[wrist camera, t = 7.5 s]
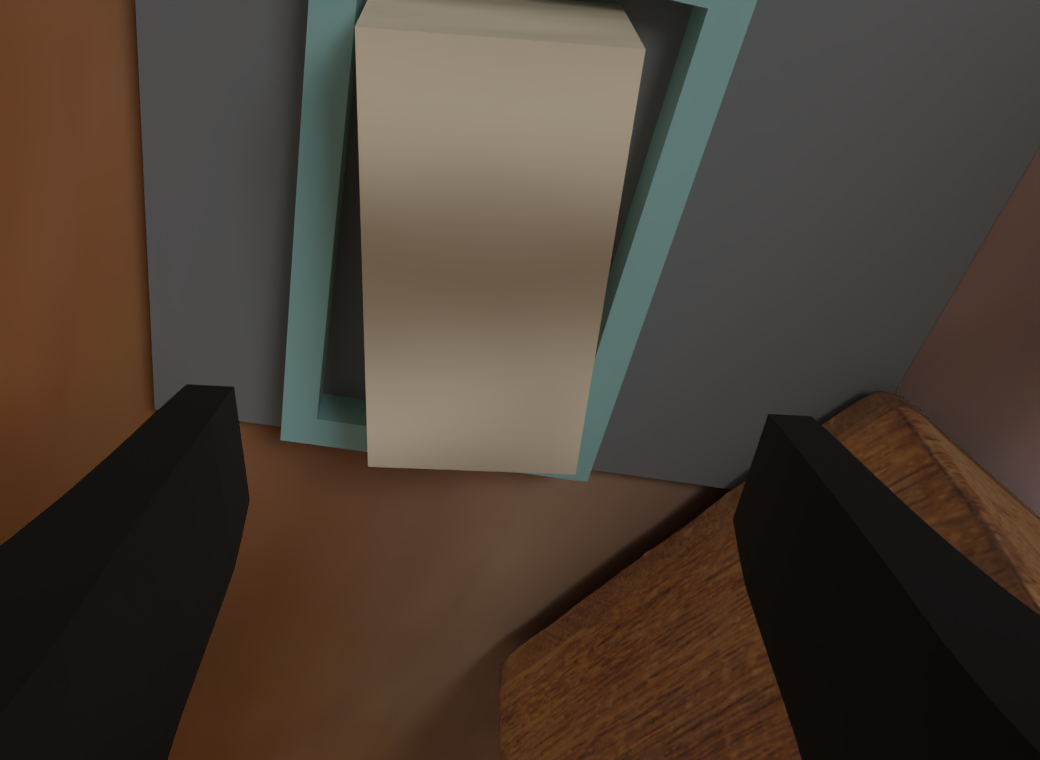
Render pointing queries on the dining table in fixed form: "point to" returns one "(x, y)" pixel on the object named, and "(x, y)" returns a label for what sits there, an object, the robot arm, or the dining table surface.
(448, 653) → the dining table surface
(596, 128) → the beige block
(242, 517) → the robot arm
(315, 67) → the teal frame
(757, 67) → the rubber mat
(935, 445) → the wooden box
